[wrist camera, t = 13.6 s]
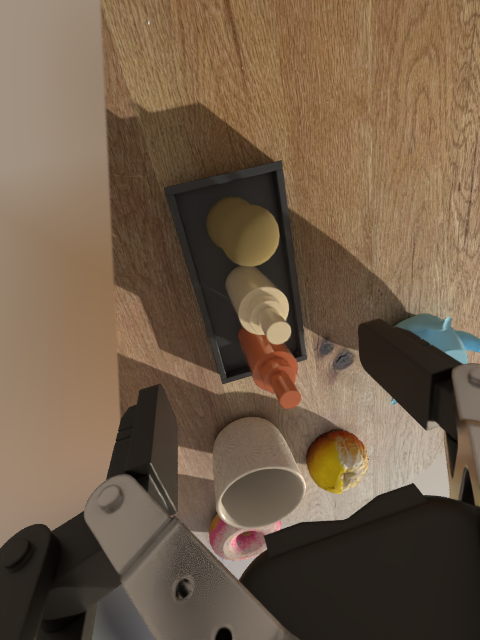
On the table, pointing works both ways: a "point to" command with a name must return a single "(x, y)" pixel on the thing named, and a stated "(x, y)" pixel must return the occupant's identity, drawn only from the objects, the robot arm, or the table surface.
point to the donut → (238, 539)
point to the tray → (215, 266)
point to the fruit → (337, 461)
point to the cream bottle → (258, 303)
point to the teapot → (441, 336)
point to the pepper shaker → (243, 231)
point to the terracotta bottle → (271, 367)
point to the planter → (255, 474)
